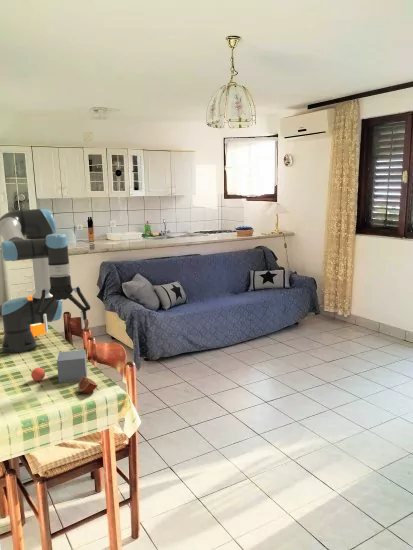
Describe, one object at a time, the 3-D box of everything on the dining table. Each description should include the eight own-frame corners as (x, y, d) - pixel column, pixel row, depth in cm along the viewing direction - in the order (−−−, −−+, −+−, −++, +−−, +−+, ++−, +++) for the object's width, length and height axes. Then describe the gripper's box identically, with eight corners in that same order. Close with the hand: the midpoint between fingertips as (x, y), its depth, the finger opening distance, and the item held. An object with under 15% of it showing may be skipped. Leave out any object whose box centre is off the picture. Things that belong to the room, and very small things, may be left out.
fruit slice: (75, 389, 165) (74, 376, 164) (93, 385, 169) (92, 372, 168) (82, 398, 158) (81, 384, 157) (101, 393, 162) (99, 380, 161)
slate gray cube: (61, 373, 181) (59, 352, 180) (87, 370, 184) (85, 349, 182) (58, 383, 171) (56, 361, 170) (86, 379, 174) (84, 358, 172)
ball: (32, 378, 176) (31, 366, 176) (46, 377, 178) (45, 365, 177) (31, 383, 172) (29, 371, 171) (44, 382, 173) (43, 369, 172)
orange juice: (33, 337, 229) (29, 299, 226) (25, 334, 235) (21, 297, 231) (47, 333, 235) (44, 296, 231) (39, 330, 241) (35, 294, 237)
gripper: (22, 279, 163) (29, 335, 167) (93, 274, 168) (97, 329, 172) (26, 276, 170) (32, 330, 174) (94, 271, 175) (98, 324, 179)
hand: (64, 329), depth 173 cm, fingers open, 13 cm apart
